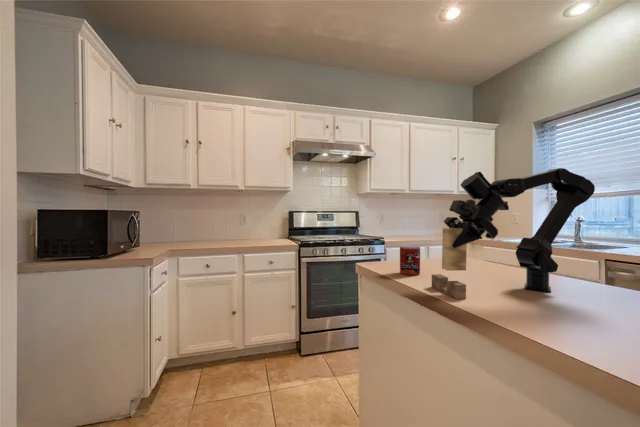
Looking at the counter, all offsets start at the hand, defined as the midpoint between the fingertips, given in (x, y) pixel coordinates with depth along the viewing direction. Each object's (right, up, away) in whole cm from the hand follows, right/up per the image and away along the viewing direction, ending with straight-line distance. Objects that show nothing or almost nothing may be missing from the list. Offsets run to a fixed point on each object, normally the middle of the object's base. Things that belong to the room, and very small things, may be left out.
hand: (450, 246), depth 86 cm
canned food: (-4, -14, +26) cm, 30 cm away
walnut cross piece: (-1, -14, 0) cm, 14 cm away
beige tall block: (+1, -7, 0) cm, 7 cm away
